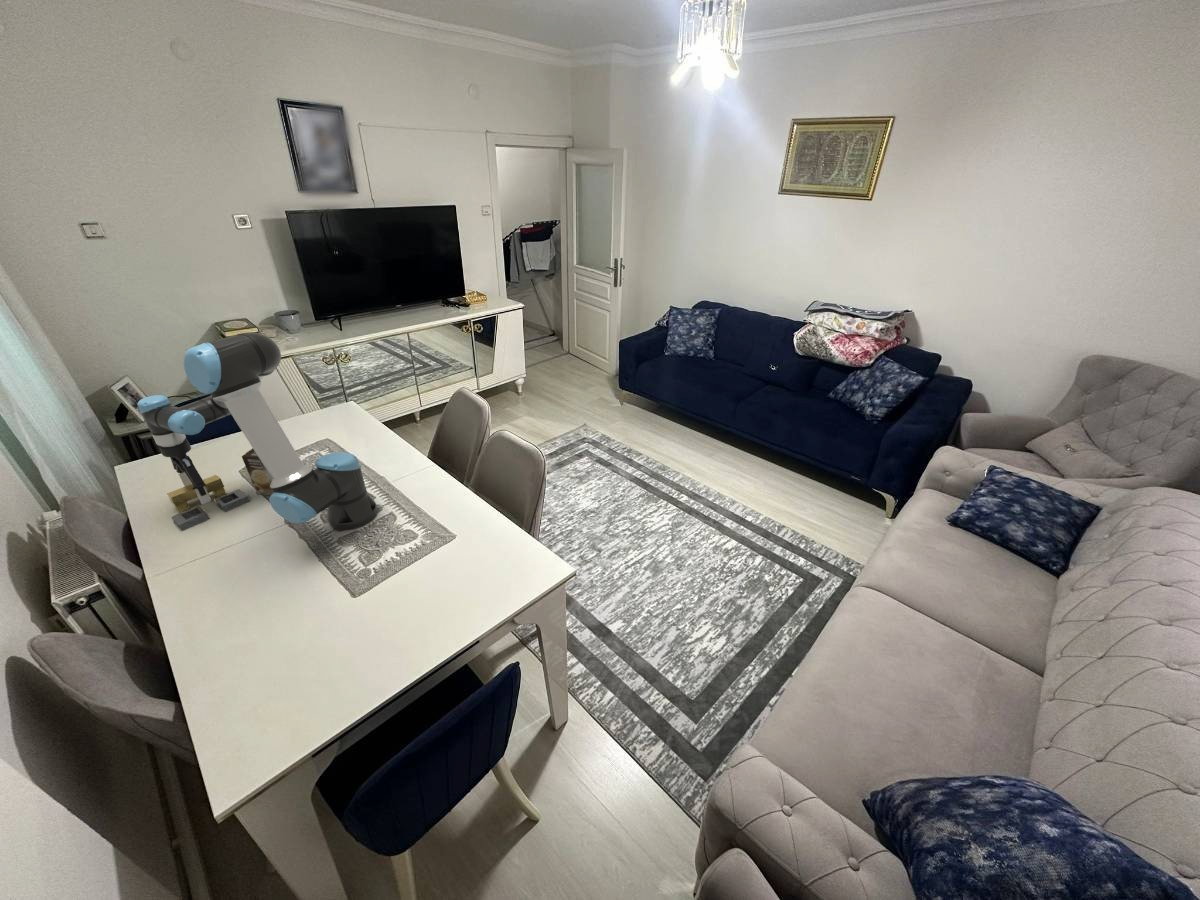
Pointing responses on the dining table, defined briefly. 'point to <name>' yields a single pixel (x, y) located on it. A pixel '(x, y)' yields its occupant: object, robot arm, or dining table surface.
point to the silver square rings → (203, 516)
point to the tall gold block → (187, 493)
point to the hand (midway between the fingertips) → (198, 495)
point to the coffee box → (258, 473)
